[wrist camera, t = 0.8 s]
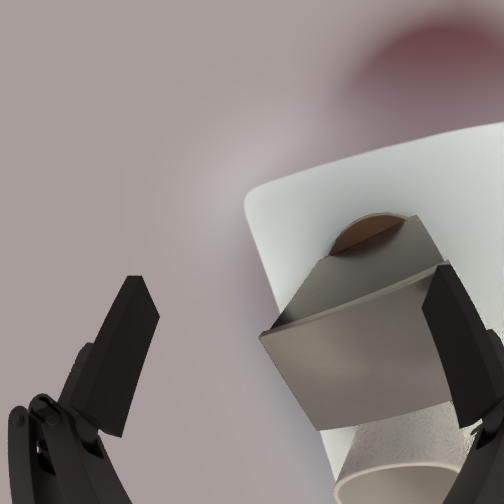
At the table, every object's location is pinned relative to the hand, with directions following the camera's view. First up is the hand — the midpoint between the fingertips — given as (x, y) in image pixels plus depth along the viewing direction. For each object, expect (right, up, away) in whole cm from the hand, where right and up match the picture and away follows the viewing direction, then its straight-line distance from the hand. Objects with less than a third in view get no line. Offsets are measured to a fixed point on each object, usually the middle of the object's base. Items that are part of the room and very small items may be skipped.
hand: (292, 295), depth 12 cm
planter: (+22, -22, +21) cm, 38 cm away
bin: (+12, -1, +17) cm, 21 cm away
